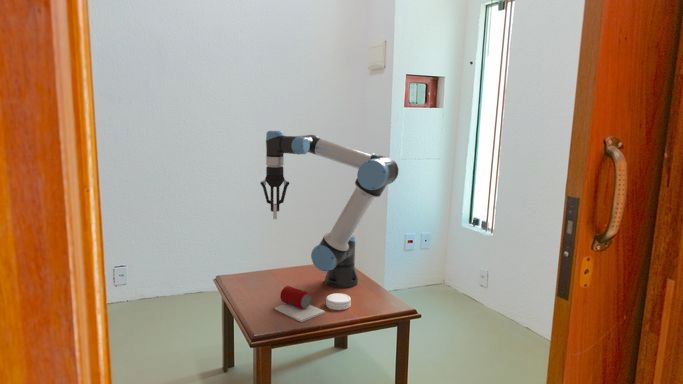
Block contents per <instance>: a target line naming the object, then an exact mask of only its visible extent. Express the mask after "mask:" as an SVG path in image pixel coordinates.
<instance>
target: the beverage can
mask: <svg viewBox="0 0 683 384" xmlns="http://www.w3.org/2000/svg"><path fill="white" fill-rule="evenodd" d="M280 300H281V302H282V303H283V304H286V303H287V304H289V305H292V306H295V307H297V308H300V309H303V308H307V307H308V306H309V305H311V303H312V296H311V295H310V294H309V292H307V291H305V290H303V289H299V288H295V287H294V286H293V287H292V286H290V285H287V286H284V287H283V289H281V291H280Z"/></svg>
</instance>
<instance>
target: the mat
mask: <svg viewBox="0 0 683 384" xmlns="http://www.w3.org/2000/svg"><path fill="white" fill-rule="evenodd" d="M274 310H276V311H278V312H280V314H284V315H286V316H288V317H290V318H292V319H294V320H296V321H298V322H300V323H302V322H305V321H308V320H310V319H313V318H315V317H318V316H320V315H324V314H326V313H325V312H326V311H325V310H323V309H321V308H319V307H316V306H314V305H311V304H310V305H309V306H308V307H307V308H303V309H300V308H297V307H295V306H292V305H289V304H287V303H283V304H280V305H278V306H274Z"/></svg>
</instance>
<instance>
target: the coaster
mask: <svg viewBox="0 0 683 384" xmlns="http://www.w3.org/2000/svg"><path fill="white" fill-rule="evenodd" d="M351 303H352V302H351V296H350V295H348V294H346V293H331V294H329V295H327V296H326V298H325V305H326V307H327V308H328V309H330V310H334V311H344V310H348V309H349V308H350V307H351V306H352V305H351Z"/></svg>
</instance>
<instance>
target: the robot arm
mask: <svg viewBox="0 0 683 384" xmlns="http://www.w3.org/2000/svg"><path fill="white" fill-rule="evenodd" d="M265 137H266V139H265V146H266V147H265V148H266V150H265V151H266V152H265V153H266V156H265V158H266V159H265V162H266V163H265V165H266V169H265V171H266V172H265V173H266V174H265V175H266V176H265V178H264V180H261V181H260V185H261V187H262V188H263V193H264V198H265V201H266V203H267V204H270V212H272V216H273V220H277V219H278V212H280V205H281V204H283V203H284V201H285V198H286V193H287V190H288V186H289V185H290V182H289V180H286V179H285V177H284V175H285V174H284V165H285V163H284V157H285V156H284V154H289V155H290V154H292V155H307V153H308V154H309V153H310V154H313V155H316V156H319V157H322V158H325V159H327V160H331V161H334V162H337V163H339V164H343V165H346V166H349V167H351V168H354V169H357V175H356V176H357V178H356V179H355V182H354V185H355V188H354V190H353V192H352V194H351V196H350V197H349V199H348V201H347V203H346V204H345V206H344V207H343V209H342V212H341V213H340V215H339V216H338V218H337V219H336V221H335V224H334V225H333V227H332V229H331V230H330V232H327V233H324V235H323V237H322V239H321V241H320V242H319V244H318V245H316V246H314V247H313V249H312V251H311V255H310V258H311V262H312V264H313V266H314V267H315V268H317V269H318V270H319V271H321V272H326V274H325V276H324V283H325V284H326V285H328V286H330V287H334V288H341V289H342V288H343V289H345V288H351V287H355V286H357V285H358V284H359V277H358V273H357V270H356V266H355V260H356V243H357V242H356V236H355V235H354V233H355V232H356V230H357V228H358V227H359V225H360V223H361V221H362V220H363V218H364V216H365V215H366V213H367V212H368V210H369V208H370V207H371V205H372V203H373V201H374V199H376V198H379V197H381V195H382V193H383V192H384V190H385V189H386V187H387V185H390V184H392V183H394V182H395V181H396V179H397V178H398V177H399V167H398V163H397V162H396V161H395V160H394V159H393V158H391V157H389V156H385V155H383V154H382V155H380V154H377V153H372V154H370V153H366V152H363V151H359V150H357V149H355V148H352V147H351V148H350V147H348V146H346V145H345V146H344V145H343V144H342V145H341V144H338V143H335V142H332V141H329V140H326V139H323V138H320V137H319V136H318V135H316V134H308V135H307V134H306V135H295V136H293V135H291V136H290V135H285V133H284V131H282V130H268V131H266V136H265ZM282 184H283V189H282V193H281V198H280V187H281V186H282ZM266 185H268V186H269V187H270V197H269V195H268V191H267V186H266ZM274 189H276V190H275V191H276V192H275V193H276V196H275V197H276V198H275V199H276V201H275V202H276V203H274Z"/></svg>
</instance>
